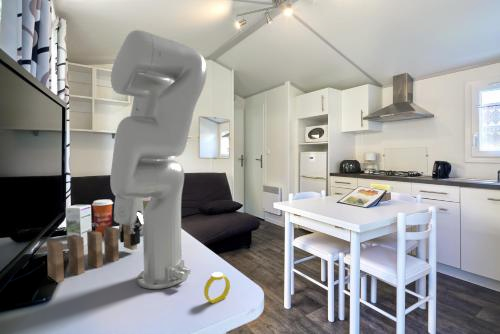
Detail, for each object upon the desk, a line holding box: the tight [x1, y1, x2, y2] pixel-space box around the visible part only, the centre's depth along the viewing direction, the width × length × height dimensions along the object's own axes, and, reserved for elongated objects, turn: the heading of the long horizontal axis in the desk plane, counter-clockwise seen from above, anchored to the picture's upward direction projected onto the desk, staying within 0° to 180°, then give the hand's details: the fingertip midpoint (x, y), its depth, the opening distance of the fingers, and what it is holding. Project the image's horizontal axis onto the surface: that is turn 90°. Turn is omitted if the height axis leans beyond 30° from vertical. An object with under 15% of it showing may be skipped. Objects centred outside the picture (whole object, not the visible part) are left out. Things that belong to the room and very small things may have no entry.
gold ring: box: [203, 271, 231, 304], centre depth 56 cm, size 6×3×6 cm, turn 128°
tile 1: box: [103, 226, 120, 263], centre depth 79 cm, size 5×2×10 cm, turn 59°
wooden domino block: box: [46, 239, 65, 284], centre depth 66 cm, size 5×2×10 cm, turn 59°
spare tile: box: [123, 221, 138, 251], centre depth 85 cm, size 5×2×10 cm, turn 59°
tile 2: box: [86, 229, 104, 269], centre depth 75 cm, size 5×2×10 cm, turn 59°
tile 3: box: [67, 235, 86, 276], centre depth 70 cm, size 5×2×10 cm, turn 59°
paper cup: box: [91, 199, 114, 236], centre depth 106 cm, size 8×8×14 cm
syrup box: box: [65, 204, 93, 247], centre depth 93 cm, size 6×6×14 cm
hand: (130, 242), depth 85 cm, fingers closed on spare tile, 4 cm apart
